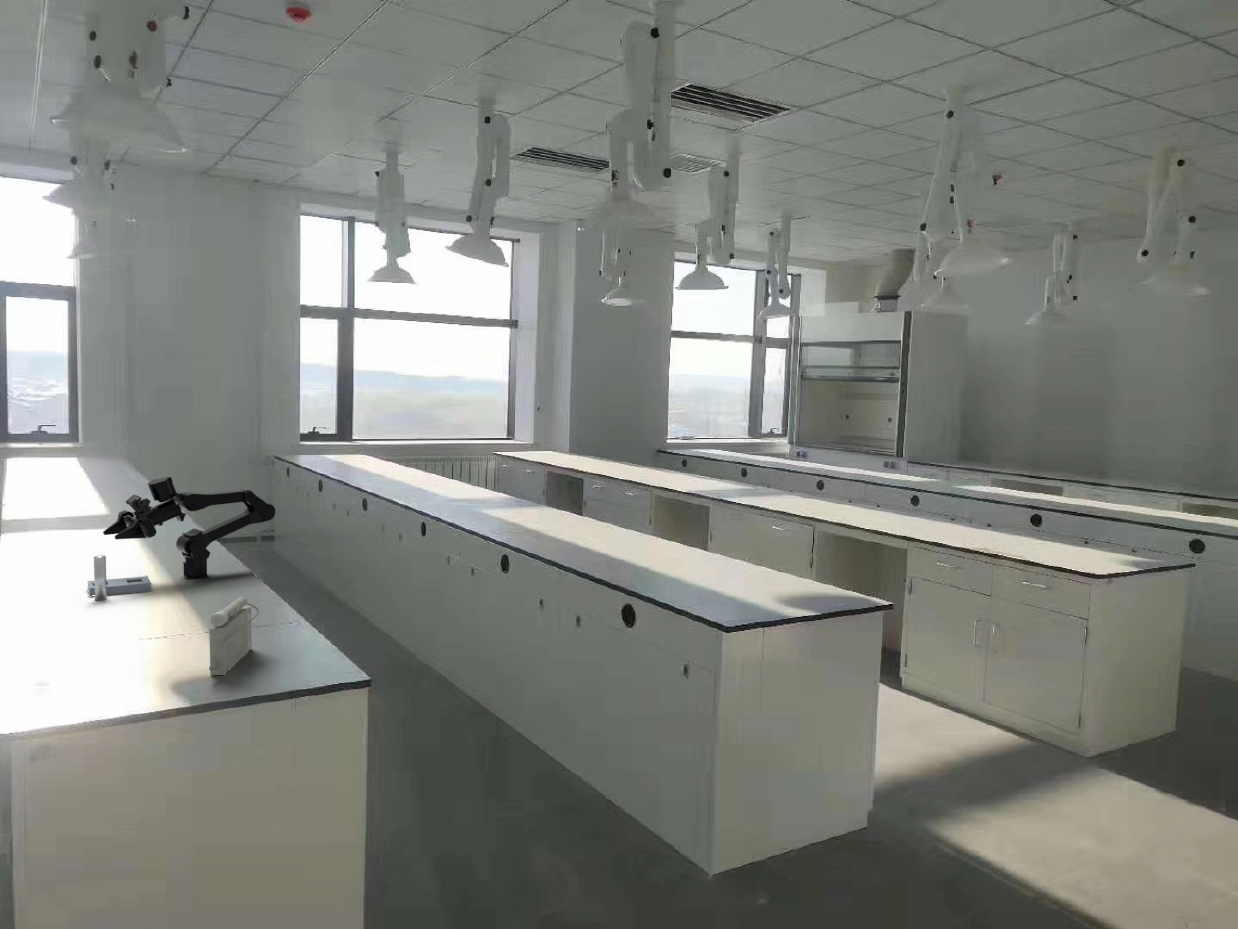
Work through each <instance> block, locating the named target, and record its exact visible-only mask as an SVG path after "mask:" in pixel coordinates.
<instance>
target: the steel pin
mask: <svg viewBox="0 0 1238 929" xmlns="http://www.w3.org/2000/svg"><path fill="white" fill-rule="evenodd" d="M93 570H94V571H93V572H94V574H93V577H94V578H93V581H94V584H95V596H94V600H95V599H96V600H95V601H104V600H107V599H108V597H107V596H108V595H107V585H106V580H107V557H106V555H94V556H93Z"/></svg>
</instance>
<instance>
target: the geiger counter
mask: <svg viewBox="0 0 1238 929" xmlns="http://www.w3.org/2000/svg"><path fill="white" fill-rule="evenodd" d="M252 607H253V608H254V609H255V610H256V613H255V615H253V616H252ZM259 611H260V610H259V608H258V607H257V606H256V605H254V604H252V603H249V602H248V599H247V598H246V597H245V596H239V597H238V598H236V599H235V600H234V601H232V602H231V603H230V604H228V605H226V607H225V608H223V609H222V610H219V611H217V612H215V613H214V614H213V615H212V616H211V617H210V624H211V625H212V626H211V627H210V628H209V660H210V661H209V668H208V669H209V671H210V672H209V673H210V674H209V675H224V674H225V673H226V672H227V671H228V670H229V669H231V668H232V667H233V665H235V664H236V663H237V662H238V661H239V660H240V659H241V658H242V657H243V656H244V657H246V655H247V654H248V653H249V652H248V651H249V650H251V648H252V649H253V644H252V641H253V640H252V636H253V635H252V621H253V620H254V619H256V618H257V617H258V615H259V614H260V612H259ZM251 651H252V650H251ZM247 652H248V653H247ZM246 653H247V654H246ZM245 654H246V655H245ZM244 657H243V658H244ZM243 658H242V659H243ZM242 659H241V660H242ZM241 660H240V661H241ZM240 661H239V662H240ZM239 662H238V663H239ZM238 663H237V664H238ZM237 664H236V665H237ZM236 665H235V666H236ZM233 668H234V667H233ZM233 668H232V669H233ZM232 669H231V670H232ZM224 676H225V675H224Z"/></svg>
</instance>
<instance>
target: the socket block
mask: <svg viewBox="0 0 1238 929" xmlns="http://www.w3.org/2000/svg"><path fill="white" fill-rule="evenodd" d="M106 585H107V596H114V595H125V594H135V593H144V592H145V593H147V592H152V582H151V580H150V578H149V576H145V575H144V576H133V577H123V578H112V579H111V578H110V579H106ZM87 591H89V592H88V595H89V597H90V596H92V595H95V584H94V580H88V581H87Z"/></svg>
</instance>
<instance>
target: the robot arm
mask: <svg viewBox="0 0 1238 929" xmlns="http://www.w3.org/2000/svg"><path fill="white" fill-rule="evenodd" d="M147 486H148V488H149V491H150V494H151V496H152V498H153V501H156V502H157V501H158V504H157V505H154V506H151V505H150V504H151V500H150V499H149V498H148V497H144V498H142V497H141V496H139V495H138V494H132V495H131V496H130V497H129V498H128V499H126V500H125V504H127V505H129V507H131V509H133V510H134V511H128V510H124V509H123V510H122V511H120V512H118V515H117V519H116V521H115V522H114V523H113V524H111V525H109V526H108V527H107V528H106V529H105V530H103V531H102V533H103V535H104V536H108V535H114V539H115V540H130V539H131V540H133V539H151V538H153V537H155V536H156V534H157V530H156V526H159V527H162V526H163V525H164V523H166V522H169V521H170V520H173V519H176V520H177V521H179V522H184V520H185V517H186V515H187V513H185V512H182V511H183V510H185V511H189V512H197V511H201V510H203V509H207V508H208V507H211V506H218V505H219V506H220V505H228V504H236V503H238V504H239V503H243V504H244V506H245V507H246V509H245V510H244V512H242V513H241V514H240V513H239V514H238V515H236V516H233V517H231V518H229V519H227V520H225V521H222V522H220V523H218V524H216V525H213V526H211V527H209V528H207V529H204V530H201V529H197V528H192V529H189V531H187V532H182V533H181V535H180V536H179V537H178V538H177V540H176V543H175V545H176V548H177V550H178V551H179V552H180V553H181V555H182V557H183V558H184V560H183V561H182V575H183V576H184V578H186V579H187V580H188V579H197V578H196V577H201V578H208V577H209V574H208V559H209V558H210V555H211V551H210V550H208V549H207V548H208V547H209V545H210V544H211V543H213V542H216V541H218V540H219V539H222V538H224V537H226V536H228V535H230V534H233V533H235V532H237V531H239V530H241V529H243V528H246V527H248V526H249V525H253V524H261V523H266V522H269V521H271V520H273V519H274V518H275V515H276V508H275V506H274V505H273V504H271V503H267V502H266V501H264V500H263V499H262V498H261V497H259V496H258V495H256V494H255V493H254V492H253V491H252V490H250V489H246V488H242V489H237V490H228V491H226V490H225V491H218V492H208V493H206V492H205V493H204V492H196V491H183V492H178V491H176V488H175V486H174V482H173V478H172V477H171V476H166V477H161V478H154V479H152V480H150V481H148V482H147ZM186 579H185V580H186Z"/></svg>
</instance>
